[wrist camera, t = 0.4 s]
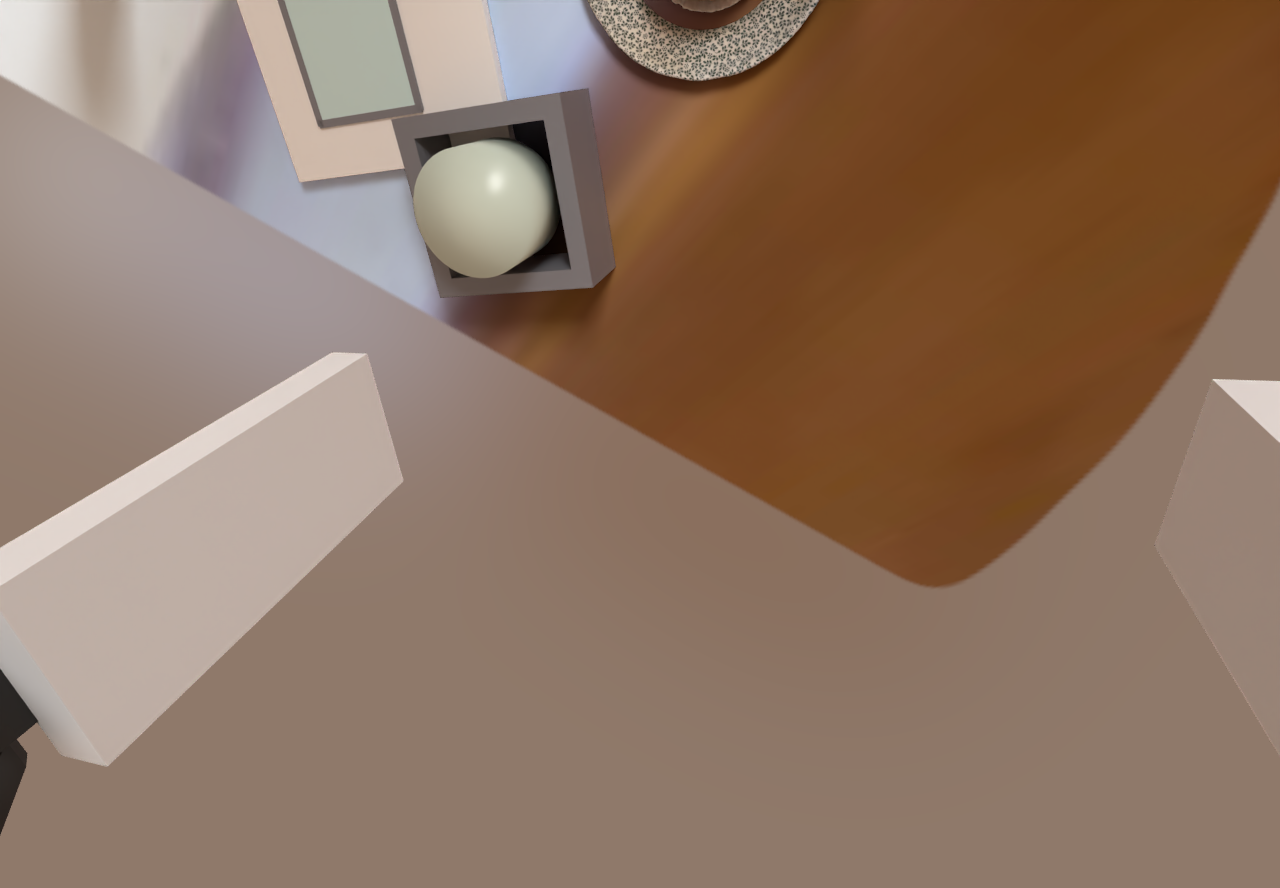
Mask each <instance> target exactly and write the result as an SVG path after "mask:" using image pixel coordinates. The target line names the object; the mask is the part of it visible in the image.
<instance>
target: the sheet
mask: <svg viewBox="0 0 1280 888" xmlns="http://www.w3.org/2000/svg"><path fill="white" fill-rule="evenodd" d="M237 3H238V6H239V8H240V11H241V14H242V17H243V20H244V23H245V26H246V29H247V32H248V34H249V37H250V40H251V43H252V46H253V49H254V52H255V55H256V58H257V60H258V63H259V66H260V69H261V72H262V75H263V78H264V81H265V84H266V87H267V89H268V92H269V95H270V98H271V101H272V104H273V107H274V110H275V113H276V115H277V118H278V121H279V124H280V127H281V130H282V133H283V136H284V139H285V141H286V144H287V147H288V150H289V153H290V156H291V159H292V162H293V165H294V167H295V170H296V173H297V176H298V179H299V182H306V181H313V180H321V179H328V178H336V177H343V176H351V175H359V174H366V173H374V172H381V171H389V170H396V169H404V165H403V161H402V158H401V154H400V150H399V147H398V143H397V140H396V136H395V132H394V129H393V125H392V121H391V119H396V118H403V117H409V116H415V115H422V114H428V113H434V112H441V111H447V110H453V109H460V108H466V107H472V106H479V105H485V104H491V103H498V102H504V101H507V96H506V92H505V87H504V82H503V77H502V72H501V67H500V62H499V57H498V52H497V48H496V43H495V38H494V33H493V28H492V23H491V18H490V13H489V8H488V3H487V0H237ZM449 137H450V141H451V145H452V147H456V146H460V145H464V144H468V143H472V142H476V141H480V140H484V139H489V138H493V137H505V138H511V139H515V136H514V131H513V126H512V125H505V126H498V127H491V128H484V129H477V130H471V131H464V132H457V133H450V134H449Z"/></svg>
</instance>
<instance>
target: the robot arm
mask: <svg viewBox="0 0 1280 888" xmlns="http://www.w3.org/2000/svg"><path fill="white" fill-rule="evenodd" d="M402 482H403V477H402V474H401V470H400V467H399V463H398V460H397V456H396V453H395V449H394V446H393V442H392V439H391V435H390V432H389V428H388V425H387V421H386V418H385V414H384V411H383V407H382V404H381V400H380V397H379V393H378V390H377V386H376V383H375V379H374V376H373V372H372V369H371V365H370V362H369V358H368V355H367V354H364V353H330V354H329V355H327V356H325V357H324V358H322V359H320V360H319V361H317V362H315V363H313V364H312V365H310V366H308V367H307V368H305V369H303V370H302V371H300V372H298V373H296V374H295V375H293V376H291V377H290V378H288V379H287V380H285V381H283V382H281V383H279V384H278V385H276V386H274V387H273V388H271V389H269V390H268V391H266V392H264V393H262V394H261V395H259V396H257V397H256V398H254V399H252V400H251V401H249V402H247V403H245V404H244V405H242V406H240V407H239V408H237V409H235V410H234V411H232V412H231V413H228V414H227V415H225V416H223V417H222V418H220V419H218V420H217V421H215V422H213V423H212V424H210V425H208V426H206V427H205V428H203V429H201V430H200V431H198V432H196V433H195V434H193V435H191V436H189V437H188V438H186V439H184V440H183V441H181V442H179V443H177V444H176V445H174V446H172V447H171V448H169V449H167V450H166V451H164V452H162V453H160V454H159V455H157V456H155V457H154V458H152V459H150V460H149V461H147V462H145V463H143V464H142V465H140V466H138V467H137V468H135V469H133V470H132V471H130V472H128V473H127V474H125V475H123V476H122V477H120V478H118V479H116V480H115V481H113V482H111V483H110V484H108V485H106V486H104V487H103V488H101V489H99V490H98V491H96V492H94V493H93V494H91V495H89V496H87V497H86V498H84V499H82V500H81V501H79V502H78V503H76V504H74V505H72V506H71V507H69V508H67V509H65V510H64V511H62V512H60V513H59V514H57V515H55V516H53V517H52V518H50V519H48V520H47V521H45V522H43V523H42V524H40V525H38V526H36V527H35V528H33V529H31V530H30V531H28V532H26V533H25V534H23V535H21V536H19V537H18V538H16V539H14V540H13V541H11V542H9V543H8V544H6V545H4V546H3V547H1V548H0V834H1V832H2V829H3V826H4V824H5V821H6V818H7V816H8V813H9V810H10V808H11V805H12V803H13V800H14V797H15V795H16V792H17V789H18V787H19V784H20V781H21V779H22V776H23V773H24V771H25V768H26V762H27V752H26V751H25V750H24V748H23V747H22V746H21V745H20V743H19V742H18V741H17V738H18V737H20V736H21V735H22V734H23V733H25V732H26V731H27V730H28V729H29V728H31V727H32V726H33V725H34V724H35V723H38V724H39V726H40V727H41V728H42V730H43V731H44V732H45V734H46V735H47V737H48V738H49V739H50V740H51V742H52V743H53V744H54V746H55V747H56V749H57V750H58V751H59V753H60V754H61V755H62V756H66V757H70V758H75V759H79V760H82V761H87V762H91V763H95V764H99V765H103V766H109V765H110V763H112V762H113V761H114V760H115V758H117V757H118V756H119V755H120V754H121V753H122V752H123V751H124V750H125V749H126V748H127V747H128V746H129V745H130V744H131V743H132V742H133V741H134V740H136V739H137V738H138V737H139V736H140V735H141V733H143V732H144V731H145V730H146V729H147V728H148V727H149V726H150V725H151V724H152V723H153V722H154V721H155V720H156V719H157V718H158V717H159V716H160V715H161V714H162V713H164V712H165V710H167V709H168V707H170V706H171V705H172V704H173V703H174V702H175V701H176V700H177V699H178V698H179V697H180V696H181V695H182V694H183V693H184V692H185V691H186V690H187V689H188V688H189V687H190V686H191V685H193V684H194V683H195V682H196V681H197V680H198V679H199V678H200V677H201V676H202V675H203V674H204V673H205V672H206V671H207V670H208V669H209V668H210V667H211V666H212V665H213V664H214V663H215V662H216V661H217V660H218V659H220V658H221V657H222V655H223V654H225V653H226V652H227V651H228V650H229V649H230V648H231V647H232V646H233V645H234V644H235V643H236V642H237V641H238V640H239V639H240V638H241V637H242V636H243V635H244V634H245V633H246V632H247V631H248V630H250V628H252V627H253V626H254V625H255V624H256V623H257V622H258V621H259V620H260V619H261V618H262V617H263V616H264V615H265V614H266V613H267V612H268V611H269V610H270V609H271V608H272V607H273V606H274V605H275V604H277V603H278V601H280V600H281V599H282V598H283V597H284V596H285V595H286V594H287V593H288V592H289V591H290V590H291V589H292V588H293V587H294V586H295V585H296V584H297V583H298V582H299V581H300V580H301V579H302V578H303V577H304V576H306V575H307V574H308V573H309V572H310V571H311V569H313V568H314V567H315V566H316V565H317V564H318V563H319V562H320V561H321V560H322V559H323V558H324V557H325V556H326V555H327V554H328V553H329V552H330V551H331V550H332V549H334V548H335V546H337V545H338V544H339V543H340V542H341V541H342V540H343V539H344V538H345V537H346V536H347V535H348V534H349V533H350V532H351V531H352V530H353V529H354V528H355V527H356V526H357V525H358V524H359V523H360V522H362V520H364V519H365V518H366V517H367V516H368V515H369V514H370V513H371V512H372V511H373V510H374V509H375V508H376V507H377V506H378V505H379V504H380V503H381V502H382V501H383V500H384V499H385V498H386V497H387V496H388V495H389V494H390V493H392V492H393V491H394V490H395V489H396V488H397V487H398V486H399V485H400V484H401V483H402ZM1154 546H1155V547H1156V549H1157V551H1158V553H1159V554H1160V556H1161V558H1162V559H1163V561H1164V562H1165V564H1166V566H1167V568H1168V569H1169V571H1170V573H1171V574H1172V576H1173V578H1174V579H1175V581H1176V583H1177V585H1178V586H1179V588H1180V590H1181V591H1182V593H1183V595H1184V596H1185V598H1186V600H1187V601H1188V603H1189V605H1190V606H1191V608H1192V610H1193V611H1194V613H1195V615H1196V616H1197V618H1198V620H1199V621H1200V623H1201V625H1202V626H1203V628H1204V630H1205V632H1206V633H1207V635H1208V637H1209V638H1210V640H1211V642H1212V643H1213V645H1214V647H1215V649H1216V650H1217V652H1218V654H1219V655H1220V657H1221V659H1222V660H1223V662H1224V664H1225V665H1226V667H1227V668H1228V670H1229V672H1230V674H1231V675H1232V677H1233V679H1234V680H1235V682H1236V684H1237V686H1238V687H1239V689H1240V691H1241V692H1242V694H1243V696H1244V697H1245V699H1246V701H1247V702H1248V704H1249V706H1250V708H1251V709H1252V711H1253V713H1254V714H1255V716H1256V718H1257V719H1258V721H1259V723H1260V724H1261V726H1262V728H1263V729H1264V731H1265V733H1266V734H1267V736H1268V738H1269V739H1270V741H1271V743H1272V745H1273V746H1274V748H1275V750H1276V751H1277V753H1278V755H1279V756H1280V381H1254V380H1221V379H1219V380H1218V379H1212V381H1211V384H1210V387H1209V390H1208V393H1207V396H1206V399H1205V402H1204V404H1203V407H1202V410H1201V413H1200V416H1199V419H1198V422H1197V425H1196V427H1195V430H1194V433H1193V436H1192V439H1191V442H1190V445H1189V447H1188V450H1187V453H1186V456H1185V459H1184V462H1183V465H1182V468H1181V471H1180V473H1179V476H1178V479H1177V482H1176V485H1175V488H1174V491H1173V493H1172V496H1171V499H1170V502H1169V505H1168V508H1167V511H1166V513H1165V516H1164V519H1163V522H1162V525H1161V528H1160V531H1159V534H1158V537H1157V539H1156V542H1155V545H1154Z"/></svg>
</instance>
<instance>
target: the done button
mask: <svg viewBox="0 0 1280 888" xmlns="http://www.w3.org/2000/svg"><path fill="white" fill-rule="evenodd" d="M413 205H414V213H415V218H416V222H417V225H418V228H419V230H420V233H421V235H422V237H423V239H424V240H425V242H426V244H427V245H428V247H429V248H430V250H431V251H432V252H433V253H434V254H435V255H436V257H437V258H438V259H439V260H441V261H442V262H443V263H444V264H445V265H447V266H448V267H449V268H451V269H453V270H454V271H456V272H458V273H461V274H463V275H466V276H470V277H475V278H490V277H495V276H498V275H501V274H503V273H505V272H507V271H508V270H510V269H511V268H513V267H514V266H516V265H518V264H519V263H521V262H522V261H524V260H525V259H527V258H528V257H530V256H532V255H533V254H535V253H536V252H538V251H539V250H541V249H542V248H543V247H544V246H545V245H547V244H548V242H549V241H550V240H551V238H552V237H553V235H554V233H555V232H556V229H557V226H558V223H559V219H560V213H561V211H560V206H559V200H558V195H557V189H556V184H555V178H554V175H553V173H552V171H551V169H550V168H549V166H548V165H547V163H546V162H545V161H544V160H543V158H542V157H541V156H540V155H539V154H538V153H537V152H536V151H534V150H533V149H532V148H530V147H529V146H527V145H526V144H524V143H522V142H520V141H517V140H515V139H511V138H505V137H493V138H489V139H484V140H480V141H476V142H472V143H468V144H464V145H460V146H456V147H452V148H448V149H445V150H442V151H440V152H438V153H437V154H435V155H434V156H432V157H431V158H430V159H429V160H428V161H427V162H426V163H425V165H424V166H423V168H422V169H421V171H420V173H419V175H418V177H417V180H416V184H415V188H414V196H413Z"/></svg>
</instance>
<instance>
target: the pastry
mask: <svg viewBox="0 0 1280 888" xmlns="http://www.w3.org/2000/svg"><path fill="white" fill-rule="evenodd" d="M671 1H672V2H673V3H675V4H680V5H681V6H682V7H683V9H688V10H690V11H699V12H715V11H720V10H723V9H725V8H728V7H731V6H732V5H734V4H736V3H737V2H738V1H740V0H671ZM818 2H819V0H763V1H762V2H761V3H760V4H759V5H758V6H757V7H756V8H755V9H753V10H752V11H751V12H749V13H748V14H747V15H745V16H744V17H742V18H741V19H739V20H737V21H735V22H733V23H731V24H729V25H726V26H723V27H720V28H715V29H707V30H693V29H687V28H683V27H680V26H677V25H674V24H673V23H670V22H668V21H666V20H664V19H663V18H662V17H660V16H659V15H657V14H656V13H655V12H654V11H653V10H651V8H649V7H648V6H647V5H646V3H645V2H644V1H643V0H588V3H589V5H590V7H591V9H592V11H593V12H594V15H595V16H596V18H597V19H598V21H599V22H600V24H601V25H602V26H603V28H604V29H605V31H606V32H607V34H608V35H609V37H610V38H611V40H613V42H615V44H616V45H617V46H618V47H619V48H620V49H621V50H622V51H623V52H624V53H626V54H627V56H629V57H630V58H631V59H633V60H634V61H635V62H636V63H638V64H640V65H642V66H644V67H646V68H647V69H649V70H651V71H653V72H656V73H659V74H662V75H665V76H669V77H675V78H679V79H683V80H689V81H705V80H712V79H717V78H721V77H727V76H732V75H736V74H739V73H742V72H744V71H746V70H748V69H749V68H752V67H754V66H756V65H758V64H759V63H761V62H762V61H764V60H766V59H767V58H768V57H770V56H771V55H773V54H774V53H775V52H776V51H778V50H779V49H780V48H781V47H782V46H784V45H785V44H786V43H787V42H788V40H790V39H791V38H792V37H793V36H794V34H795V33H796V32H797V31H798V30H799V29H800V28H801V26H802V24H803V23H804V22H805V21H806V19H807V17H808V16H809V15H810V14H811V13H812V11H813V10H814V8H815V7H816V5H817V3H818Z"/></svg>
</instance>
